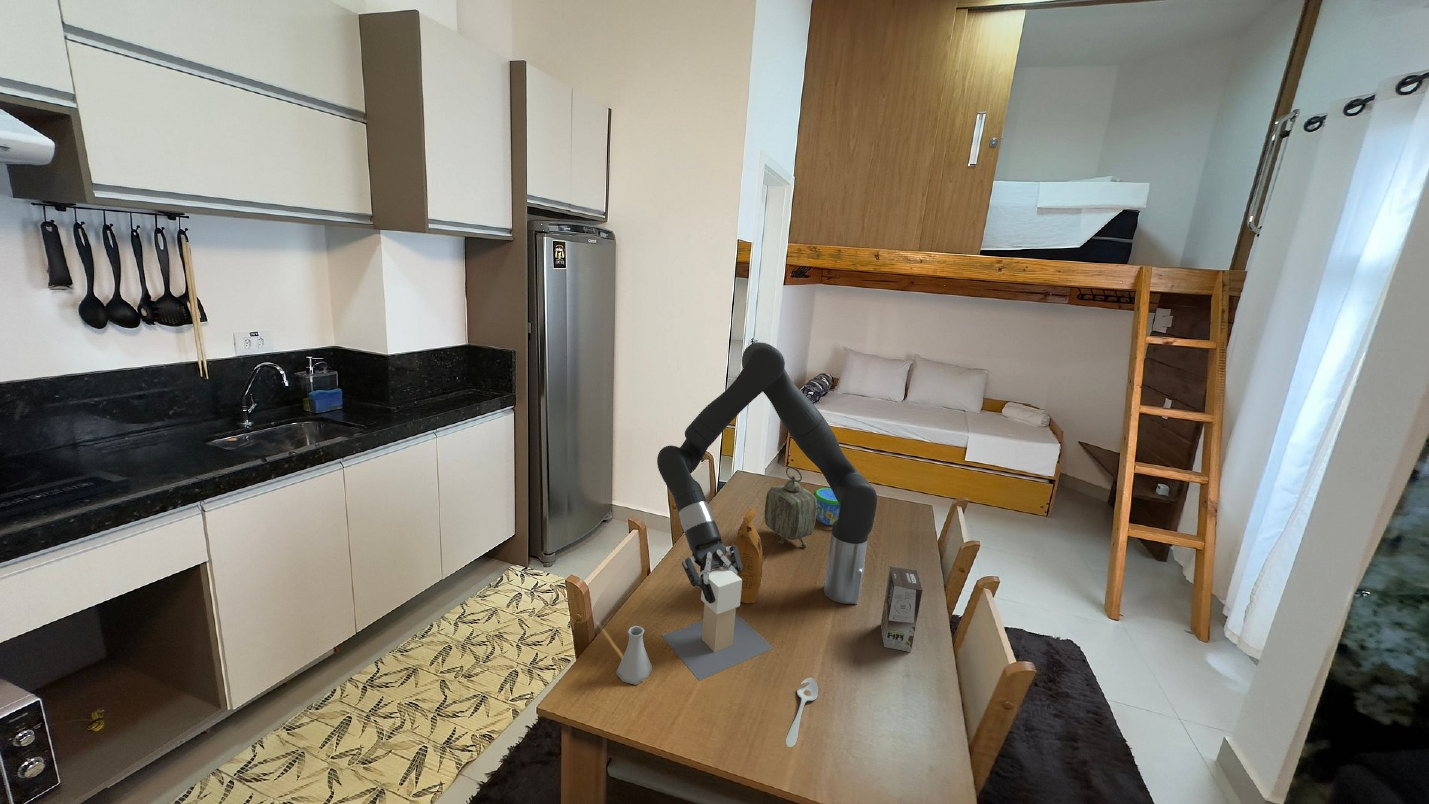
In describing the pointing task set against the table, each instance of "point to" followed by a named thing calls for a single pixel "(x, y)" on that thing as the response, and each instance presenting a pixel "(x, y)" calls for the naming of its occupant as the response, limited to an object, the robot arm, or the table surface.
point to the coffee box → (901, 608)
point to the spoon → (801, 709)
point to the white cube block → (724, 590)
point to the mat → (710, 662)
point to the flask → (634, 659)
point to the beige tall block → (718, 628)
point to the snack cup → (827, 506)
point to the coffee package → (749, 558)
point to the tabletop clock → (791, 510)
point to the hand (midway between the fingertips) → (725, 597)
